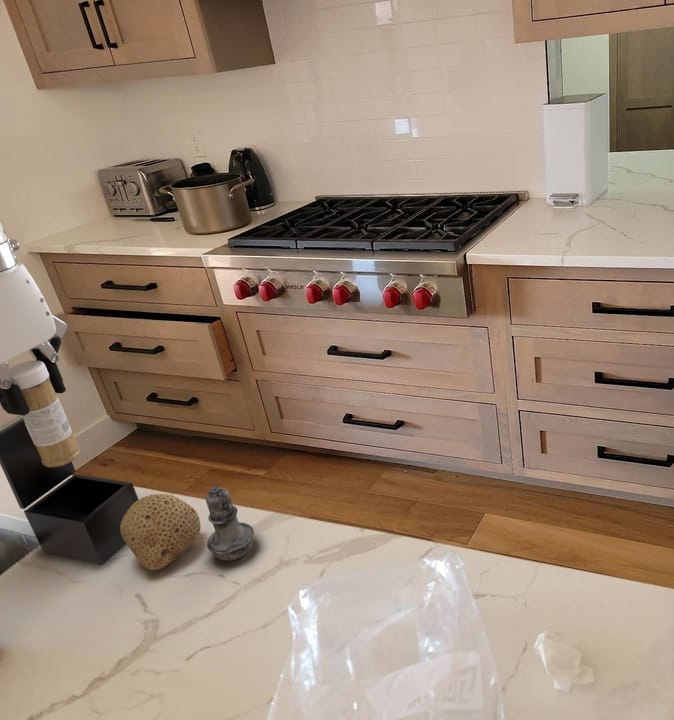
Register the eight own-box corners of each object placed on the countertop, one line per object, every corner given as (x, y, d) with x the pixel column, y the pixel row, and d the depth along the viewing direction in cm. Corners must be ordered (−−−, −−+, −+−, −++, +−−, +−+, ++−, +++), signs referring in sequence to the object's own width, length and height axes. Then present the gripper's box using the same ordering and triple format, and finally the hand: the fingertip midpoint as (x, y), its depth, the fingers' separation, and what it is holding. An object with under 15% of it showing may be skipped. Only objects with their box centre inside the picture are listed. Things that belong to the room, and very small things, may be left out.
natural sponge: (200, 527, 96) (180, 469, 92) (216, 562, 89) (195, 501, 85) (132, 555, 92) (107, 496, 88) (143, 594, 85) (117, 532, 81)
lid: (49, 404, 91) (22, 400, 93) (-8, 439, 84) (-37, 433, 85) (76, 471, 96) (49, 466, 98) (24, 509, 89) (-4, 503, 91)
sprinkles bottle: (55, 450, 91) (16, 360, 85) (88, 447, 90) (51, 357, 84) (35, 470, 87) (-8, 377, 81) (70, 467, 86) (29, 375, 80)
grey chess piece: (224, 581, 86) (198, 506, 81) (207, 558, 90) (181, 485, 85) (267, 557, 89) (245, 483, 84) (248, 536, 93) (226, 465, 88)
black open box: (150, 529, 97) (132, 482, 93) (105, 571, 90) (83, 522, 86) (94, 519, 100) (75, 473, 96) (46, 558, 93) (23, 511, 89)
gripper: (18, 240, 85) (70, 369, 93) (-126, 289, 71) (-49, 436, 79) (63, 240, 82) (112, 372, 91) (-76, 291, 68) (-3, 443, 76)
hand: (37, 400), depth 85 cm, fingers closed on sprinkles bottle, 4 cm apart
